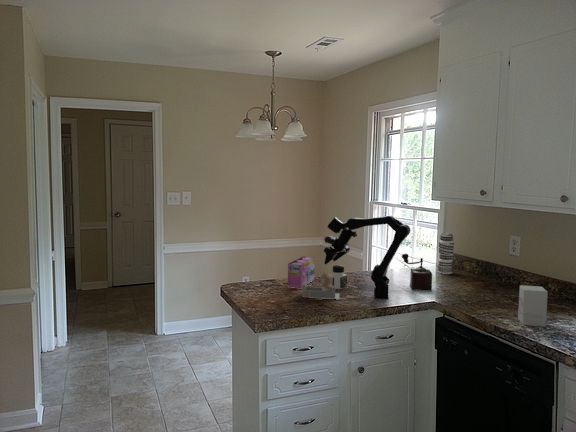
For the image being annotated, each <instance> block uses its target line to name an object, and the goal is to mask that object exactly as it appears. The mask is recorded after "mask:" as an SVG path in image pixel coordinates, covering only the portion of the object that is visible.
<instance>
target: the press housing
mask: <svg viewBox="0 0 576 432" xmlns="http://www.w3.org/2000/svg"><path fill="white" fill-rule="evenodd" d="M336 290H337V289H336V288H333V290H332V291H322V286H308V285H307V281H304V283H303V288H302V294H301V295H302V296H301V297H309V298H321V299H320V300H322V299H336V300H335V301H340V293H339V292H338V293H337V292H336Z"/></svg>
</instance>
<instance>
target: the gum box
mask: <svg viewBox="0 0 576 432" xmlns="http://www.w3.org/2000/svg"><path fill="white" fill-rule="evenodd" d="M315 269H316V257H313V258H312V257H306V256H300V257H299V258H297V259H296V260H292V261H290V262H288V263H287V287H288V286H289V287H295V288H302V287H303V283H304V281H307V284H308V283H310V282H312V281H313V280H315V281H316V270H315ZM313 282H314V281H313ZM313 282H312V283H313ZM310 284H311V283H310ZM302 289H303V288H302Z"/></svg>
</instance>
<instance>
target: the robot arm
mask: <svg viewBox="0 0 576 432" xmlns="http://www.w3.org/2000/svg"><path fill="white" fill-rule="evenodd" d="M380 225H387V226H389V227H390V228H391V229H392V230H393V231H394V232H395V233H394V235H393V241H392V242H391V244H390V246H389V247H388V249H387V251H386V253H385V254H384V257H383V258H382V260H381V262H380V264H376V265H374V266H373V269H372V272H371V271H370V274H371V276H370V279H371V280H372V282H373V284H374V287H373V296H374V298H375V299H379V300H380V299H382V300H385V299H386V300H389V283H390V281H391V280H390V279H389V278H388V277H387V272H388V268H389V266H390V264H391V262H392V260H393V259H394V256H395V255H396V253H397V251H398V249H399V248H400V246H401V244H402V243H403V242H404V241H405V240H406V238H407V237H408V236H409V235H410V234H411V227H410V226H409V225H408V224H404V223H402V221H399V219H397V218H396V217H394V216H393V215H387V216H379V217H369V218H367V217H366V218H363V217H352V218H348V219H347V221H345V222H342V221H341V220H340V219H339V218H338V217H336V216H335V217H334V218H333V219H332V220H331V221H330V222H329V223H328V224H327V228H328V229H329V230H330V231H331V232H333V233H334V234H338V235H339V236H338V237H336V236H332V235H325V238H324V243H326V244H330V246H326V247H324V249H323V253H324V254H325V258H324V265H327V264H328V263H330V262H332V261H333V262H336V261H338V260H340V259H341V258H342V257H344V256H345V255H346V254H348V253H349V252H350V251H351V248H350V247H349V246H348V245H349V244H350V240H351V239H352V238H356V237H358V234H357V231H354V230H356V229H361V228H363V227H364V228H365V227H369V226H380Z"/></svg>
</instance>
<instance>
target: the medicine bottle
mask: <svg viewBox="0 0 576 432" xmlns="http://www.w3.org/2000/svg"><path fill="white" fill-rule="evenodd" d="M332 274H333V277H334V286H333V288H336V290H339V289H341V290H343V289H346V288H348V274H345V266H343V265H341V264H335V265H333V266H332Z"/></svg>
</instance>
